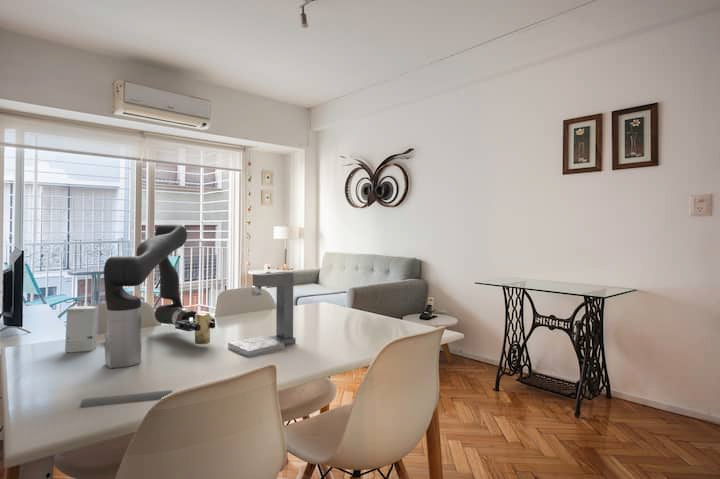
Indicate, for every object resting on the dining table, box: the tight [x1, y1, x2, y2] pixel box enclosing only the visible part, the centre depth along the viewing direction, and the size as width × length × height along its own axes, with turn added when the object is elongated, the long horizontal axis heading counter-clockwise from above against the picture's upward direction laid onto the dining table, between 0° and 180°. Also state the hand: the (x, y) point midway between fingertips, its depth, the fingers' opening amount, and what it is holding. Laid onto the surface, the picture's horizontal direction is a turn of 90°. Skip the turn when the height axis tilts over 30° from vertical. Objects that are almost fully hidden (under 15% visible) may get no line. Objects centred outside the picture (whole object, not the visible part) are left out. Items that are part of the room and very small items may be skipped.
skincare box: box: [64, 305, 99, 353], centre depth 143 cm, size 8×6×15 cm
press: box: [227, 271, 297, 358], centre depth 150 cm, size 21×20×26 cm
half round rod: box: [80, 389, 173, 409], centre depth 101 cm, size 4×20×2 cm, turn 107°
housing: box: [194, 312, 211, 345], centre depth 146 cm, size 5×5×10 cm
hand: (205, 326), depth 144 cm, fingers closed on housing, 5 cm apart
